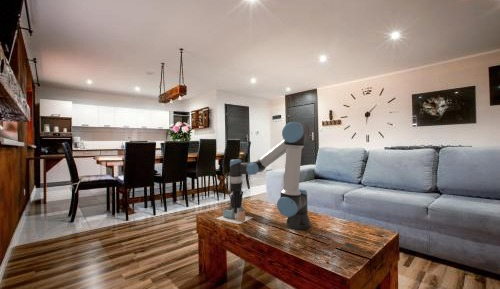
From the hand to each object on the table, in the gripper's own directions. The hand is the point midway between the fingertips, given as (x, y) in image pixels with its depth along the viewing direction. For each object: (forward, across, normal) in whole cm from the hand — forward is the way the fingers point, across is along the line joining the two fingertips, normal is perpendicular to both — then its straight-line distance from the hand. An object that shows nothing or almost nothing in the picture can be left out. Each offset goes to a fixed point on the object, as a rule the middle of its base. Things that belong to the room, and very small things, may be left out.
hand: (236, 217), depth 157 cm
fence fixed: (+3, -4, -11) cm, 12 cm away
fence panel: (+3, -4, -1) cm, 5 cm away
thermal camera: (+4, -22, -19) cm, 29 cm away
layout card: (+3, -6, -7) cm, 10 cm away
